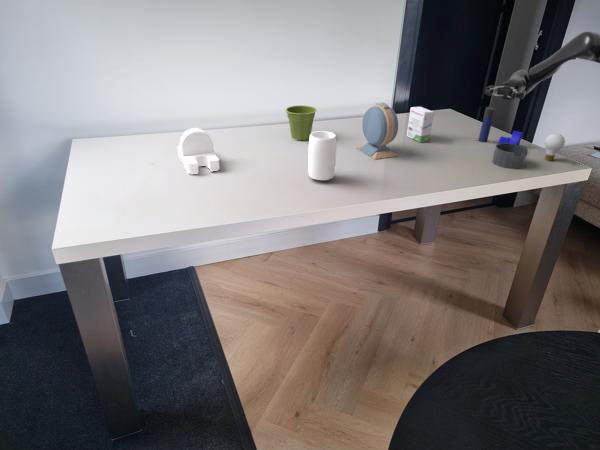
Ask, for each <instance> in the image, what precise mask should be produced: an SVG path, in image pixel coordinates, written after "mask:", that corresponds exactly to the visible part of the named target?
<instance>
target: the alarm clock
mask: <svg viewBox="0 0 600 450" xmlns="http://www.w3.org/2000/svg"><path fill="white" fill-rule="evenodd" d="M361 125H362V127H361V128H362V133H363V136H364V139H365V140H366V141H367V142H366V143H365V144H363V145H360V146H358V147H356V149H357V148H358V149H359V150H358V149H357V150H358V151H360V150H361V151H360V152H362V153H363V152H364V153H363V154H365V153H366V154H367V156H368V155H369V156H370V158H371V157H372V158H371V159H373V160H374V159H376V160H381V159H380V158H382V159H387V158H388V157H389V158H395V157H399V155H398V154H396V153H395V151H393V150H392V149H390V148H389V147H387V145H388V144H390V143H392V142H393V141H394V140H395V139H396V137H397V135H398V131H399V119H398V116H397V113H396V111H395V110H394V109H393V108H392V107H390V105H388V103H385V102H376V103H375V104H374V105H372V106H371V107H369V108H368V109H367V110H366V111H365V112H364V115H363V117H362V123H361ZM366 154H365V155H366ZM369 156H368V157H369Z"/></svg>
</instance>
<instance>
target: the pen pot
mask: <svg viewBox="0 0 600 450" xmlns="http://www.w3.org/2000/svg"><path fill="white" fill-rule="evenodd" d="M528 153H529V150H528V149H527V148H526V147H525V146H523V145H520V144H519V145H516V144H510V143H501V144H499V143H497V144H495V147H494V151H493V155H492V158H491V162H492V164H494V165H495V166H498V167H500V168H504V169H509V170H518V169H522V168H524V165H525V163H526V160H527V155H528Z"/></svg>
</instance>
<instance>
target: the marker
mask: <svg viewBox="0 0 600 450" xmlns="http://www.w3.org/2000/svg"><path fill="white" fill-rule="evenodd" d="M495 112H496V108H495V107H492V106H486V107H485V109H484V114H483V119H482V124H481V128H480V132H479V136H478V138H479V140H478V141H477V142H479V143H487V140H489V135H490V131H491V129H492V128H491V127H492V123H493V119H494V117H495V114H496V113H495Z"/></svg>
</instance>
